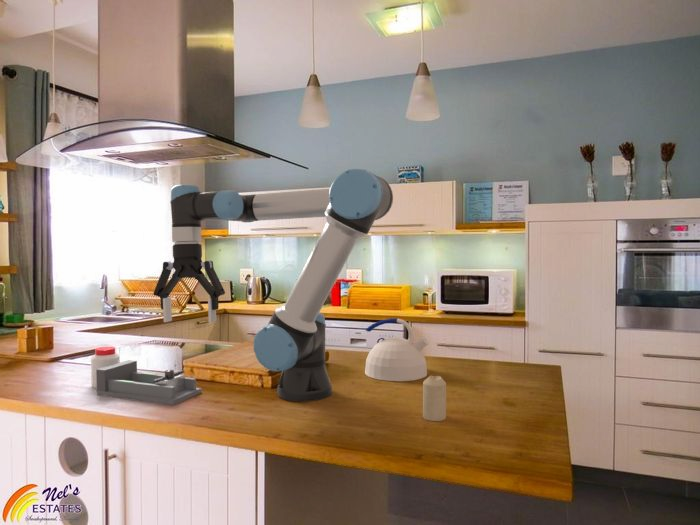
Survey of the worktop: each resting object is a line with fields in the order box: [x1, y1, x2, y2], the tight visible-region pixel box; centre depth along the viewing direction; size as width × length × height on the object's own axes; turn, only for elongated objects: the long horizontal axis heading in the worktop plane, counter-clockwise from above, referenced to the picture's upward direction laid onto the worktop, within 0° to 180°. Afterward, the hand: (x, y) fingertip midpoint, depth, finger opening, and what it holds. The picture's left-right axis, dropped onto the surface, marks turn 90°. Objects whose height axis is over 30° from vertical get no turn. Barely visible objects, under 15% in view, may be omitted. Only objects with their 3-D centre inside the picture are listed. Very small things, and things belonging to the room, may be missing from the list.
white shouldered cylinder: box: [422, 375, 447, 422], centre depth 124 cm, size 6×6×10 cm
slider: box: [154, 369, 185, 392], centre depth 142 cm, size 4×12×6 cm, turn 160°
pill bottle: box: [90, 346, 121, 389], centre depth 154 cm, size 8×8×11 cm
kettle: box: [364, 318, 429, 382], centre depth 166 cm, size 20×21×18 cm
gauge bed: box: [96, 359, 202, 406], centre depth 144 cm, size 26×12×7 cm, turn 69°
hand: (189, 321), depth 139 cm, fingers open, 13 cm apart
